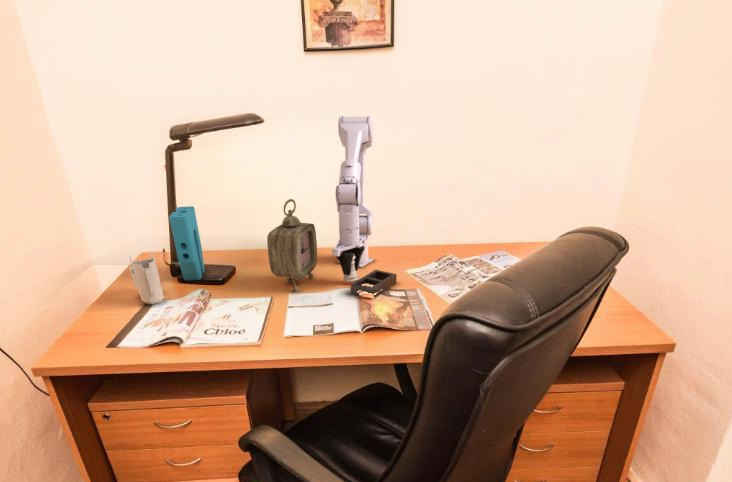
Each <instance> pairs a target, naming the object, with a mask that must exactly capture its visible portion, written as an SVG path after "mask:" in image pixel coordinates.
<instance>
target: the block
mask: <svg viewBox="0 0 732 482" xmlns="http://www.w3.org/2000/svg"><path fill="white" fill-rule="evenodd" d="M175 210H176V212H174V211H173V212H172V213H171V214H170V215H169V216H168V218H169V222H170V228H171V232H172V237H173V241H174V246H175V250H176V251H175V252H176V257H177V260H178V264H179V267H180V272H181V274H182V277H183V280H184V281H200V280H201V279H202V278H203V274H204V273H205V264H204V255H203V247H202V242H201V236H200V231H199V227H198V226H199V225H198V220H197V216H196V209H195V206H191V205H190V206H177V207H176V208H175Z"/></svg>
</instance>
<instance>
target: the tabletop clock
mask: <svg viewBox="0 0 732 482" xmlns="http://www.w3.org/2000/svg"><path fill="white" fill-rule="evenodd" d="M291 202H292V203H293V209H288V210H287V212H286V207H287V206H288V204H289V203H291ZM296 208H297V203H296V201H295V200H294V199H293V198H289V199H288V200H286V201H285V203H284V205H283V214H284V216H285V217H284V218H283V220H282V222H281V224H280V225H278V226H276V227H274V228H273V229H272V230H271V231H270V232H268V234H267V236H266V237H267V238H266V240H267V241H266V243H267V256H268V262H269V263H268V264H269V268H270V272H271V273H272V274H273V275H274V276H276V277H280V278H286V283H287V284H293V287H292V290H293V292H295V293H296V292H298V291H299V287H298V285H297V283H296V280H303V279H305V278H306V277H307V276H308V278H309V279H313V278H314V273H313V271H314V269H315V268H316V267H317V264H318V242H317V232H316V227H315V224H314V223H311V222H310V223H308V222H301V220H300V219H299V218H298V217H297V216H296V215H293V214H294V213H295V211H296Z"/></svg>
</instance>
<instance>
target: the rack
mask: <svg viewBox="0 0 732 482" xmlns="http://www.w3.org/2000/svg"><path fill="white" fill-rule="evenodd" d="M397 276H398V275H397V273H393V272H389V271H385V270H379V269H374V270H372V271H370V272H369V273H367V274H366V275H364V276H362V277H361V278H358V279H357V280H356V281H355V282H351V284H350V295H351V296H352V295H353V296H355V297H356V296H357V297H360V296H359V293H357V291H358V290H362V291H366V292H368V293H372V294H374V293H376V292H378V291H380V290H381V289H383V290H382V291H380V292H379V293H377V294H376V295H374V297H375V299H376V298H378V297H379V296H380V295H382V294H383V293H384V292H387V291H388V290H390V289H391V288H392V287H393V286H395V285H396V284H397ZM364 283H369V284H373V285H375V286H373V287H372V288H371V287H367V286H362V285H361V284H364Z"/></svg>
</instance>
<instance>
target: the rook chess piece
mask: <svg viewBox="0 0 732 482" xmlns="http://www.w3.org/2000/svg"><path fill="white" fill-rule="evenodd" d="M353 254H354V253H353ZM355 258H356V257H355V256H353V259H352V263H351V273H350V275H345V274H343V277H342V278H343V280H344V282H346V283H354V282H356V281H357V280H359V277H358V276H359V275H358V273H357V271H355V266H354V263H355V261H354V259H355Z"/></svg>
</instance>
